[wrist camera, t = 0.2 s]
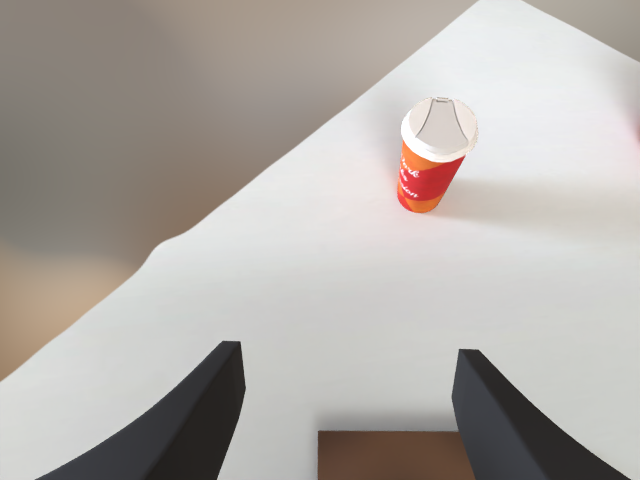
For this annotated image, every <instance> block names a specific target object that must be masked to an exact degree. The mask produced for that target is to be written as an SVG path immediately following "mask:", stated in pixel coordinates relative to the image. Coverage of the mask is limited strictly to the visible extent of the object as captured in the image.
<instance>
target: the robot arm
mask: <svg viewBox="0 0 640 480" xmlns="http://www.w3.org/2000/svg"><path fill="white" fill-rule="evenodd" d="M245 390H246V386H245V377H244V369H243V360H242V351H241V342H240V341H222V342H221V343H220V344H219V345H218V346H217V347H216V348H215V349H214V350H213V351H212V352H211V353H210V354H209V355H208V356H207V357H206V358H205V359H204V360H203V361H202V362H201V363H200V364H199V365H198V366H197V367H196V368H195V369H194V370H193V371H192V372H191V373H190V374H189V375H188V376H187V377H186V378H185V379H183V380H182V381H181V382H180V383H179V384H178V385H177V386H176V387H175V388H174V389H173V390H171V391H170V392H169V393H168V394H167V395H166V396H165V397H163V398H162V399H161V400H160V401H159V402H158V403H157V404H155V405H154V406H153V407H152V408H150V409H149V410H148V411H147V412H145V413H144V414H143V415H141V416H140V417H139V418H137V419H136V420H135V421H133V422H132V423H130V424H129V425H128V426H126V427H125V428H123V429H122V430H120V431H119V432H117V433H116V434H114V435H113V436H111V437H110V438H108V439H106V440H105V441H103V442H102V443H100V444H99V445H97V446H96V447H94V448H92V449H91V450H89V451H87V452H86V453H84V454H82V455H81V456H79V457H77V458H75V459H74V460H72V461H70V462H68V463H66V464H65V465H63V466H61V467H59V468H57V469H55V470H53V471H51V472H50V473H48V474H46V475H44V476H42V477H39V478H37V479H35V480H217V478H218V475H219V472H220V469H221V467H222V464H223V461H224V458H225V456H226V453H227V450H228V447H229V445H230V442H231V439H232V436H233V433H234V431H235V428H236V425H237V422H238V419H239V416H240V412H241V408H242V403H243V399H244V394H245ZM452 402H453V407H454V412H455V417H456V421H457V426H458V429H459V432H460V435H461V438H462V441H463V444H464V447H465V450H466V453H467V456H468V459H469V462H470V465H471V468H472V470H473V473H474V476H475V479H476V480H631V479H629V478H628V477H626V476H625V475H623V474H622V473H620V472H619V471H617V470H616V469H614V468H613V467H611V466H610V465H608V464H607V463H606V462H604V461H603V460H601V459H600V458H598V457H597V456H596V455H594V454H593V453H591V452H590V451H589V450H587V449H586V448H585V447H584V446H582V445H581V444H580V443H578V442H577V441H576V440H574V439H573V438H572V437H571V436H569V435H568V434H567V433H565V432H564V431H563V430H562V429H561V428H559V427H558V426H557V425H556V424H555V423H553V422H552V421H551V420H550V419H549V418H548V417H547V416H545V415H544V414H543V413H542V412H541V411H540V410H539V409H538V408H536V407H535V406H534V405H533V404H532V403H531V402H530V401H529V400H528V399H527V398H526V397H525V396H524V395H523V394H522V393H521V392H519V391H518V390H517V389H516V388H515V387H514V386H513V385H512V384H511V383H510V382H509V381H508V380H507V379H506V378H505V377H504V376H503V374H502V373H501V372H500V371H499V370H498V369H497V368H496V367H495V366H494V365H493V364H492V363H491V362H490V361H489V360H488V359H487V358H486V357H485V356H484V355H483V354H482V353H481V352H480V351H479V350H473V349H459V353H458V360H457V366H456V372H455V379H454V385H453V391H452Z"/></svg>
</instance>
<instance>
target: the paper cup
mask: <svg viewBox="0 0 640 480" xmlns="http://www.w3.org/2000/svg"><path fill="white" fill-rule="evenodd" d="M402 136H403V145H402V153H401V162H400V171H399V180H398V199H399V201H400V203H401V204H402V206H403V207H405V208H406V209H407V210H409V211H412V212H415V213H425V212H428V211H431V210H432V209H434V208H435V207H436V206H437V205H438V203H439V202H440V200H441V198H442V197H443V195H444V193H445V192H446V190H447V188H448V186H449V184H450V183H451V181H452V179H453V177H454V176H455V174H456V172H457V170H458V168H459V167H460V165H461V163H462V161H463V159H464V158H465V156H466V154H468V153H469V152H470V151H471V150H472V149H473V147H474V146H475V144H476V142H477V139H478V128H477V121H476V118H475V115H474V113H473V112H472V111H471V109H470V108H469V107H468V106H467V105H465V104H464V103H462V102H461V101H459V100H456V99H453V101H452V100H448V98H437V99H432V97H431V98H427V99H424V100H422V101H420V102H419V103H417V104H416V105H415V106H414V107H413V108H412V109H411V111H409V113H408V114H407V115H406V116H405V118H404V120H403V122H402Z"/></svg>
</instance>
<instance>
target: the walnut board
mask: <svg viewBox="0 0 640 480" xmlns="http://www.w3.org/2000/svg"><path fill="white" fill-rule="evenodd" d="M318 480H476V479H475V476H474V473H473V470H472V468H471V465H470V462H469V459H468V456H467V453H466V450H465V447H464V444H463V441H462V438H461V435H460V432H453V431H318Z"/></svg>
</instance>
